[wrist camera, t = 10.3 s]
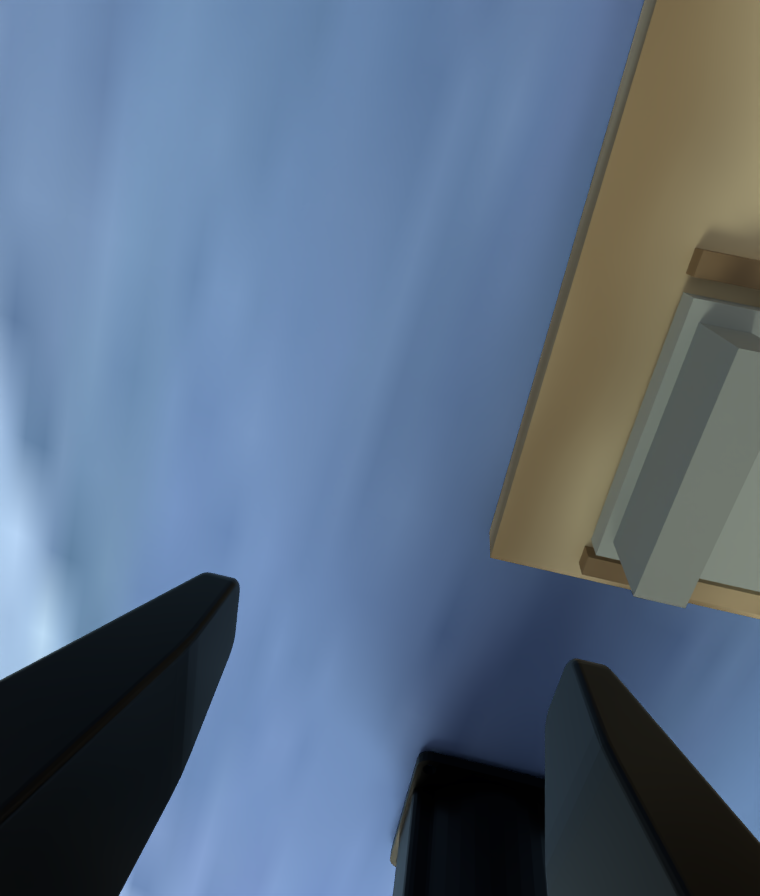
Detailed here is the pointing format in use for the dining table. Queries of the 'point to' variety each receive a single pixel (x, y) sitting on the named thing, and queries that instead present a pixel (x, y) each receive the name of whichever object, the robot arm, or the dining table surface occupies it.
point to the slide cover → (692, 461)
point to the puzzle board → (640, 277)
